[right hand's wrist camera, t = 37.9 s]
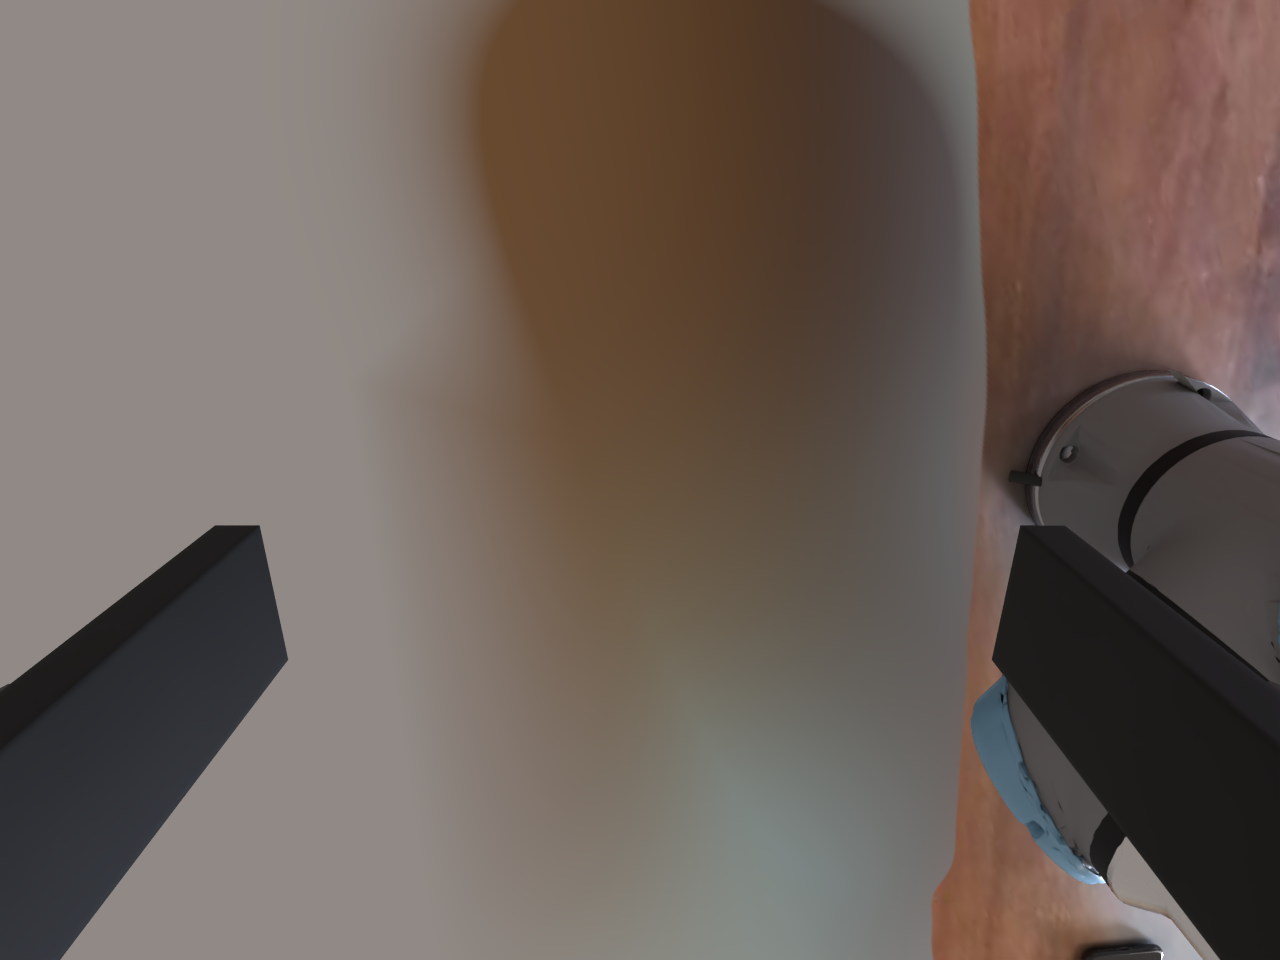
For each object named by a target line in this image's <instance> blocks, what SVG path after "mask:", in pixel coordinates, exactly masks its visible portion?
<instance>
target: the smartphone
mask: <svg viewBox="0 0 1280 960" xmlns="http://www.w3.org/2000/svg"><path fill="white" fill-rule="evenodd" d="M1162 959H1163V951H1162V949H1161V948H1160V947H1159V946H1158V945H1155V944H1146V945H1135V946H1125V947H1114V948H1104V949H1095V950H1090V951H1088V952H1087V953H1086V954H1085V956H1084V960H1162Z"/></svg>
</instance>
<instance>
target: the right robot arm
mask: <svg viewBox="0 0 1280 960" xmlns="http://www.w3.org/2000/svg"><path fill="white" fill-rule="evenodd" d="M1167 369H1168V368H1167ZM1168 370H1169V371H1170V372H1167V371H1140V372H1133V373H1128V374H1124V375H1120V376H1117V377H1114V378H1111V379H1109V380H1106V381H1104V382H1102V383H1099V384H1097V385H1095V386H1093V387H1092V388H1090V389H1088V390H1087V391H1085V392H1083V393H1082V394H1080V395H1079V396H1078V397H1076V398H1075V399H1074V400H1072V401H1071V402H1070V403H1069V404H1067V405H1066V406H1065V407H1064V408H1063V409H1062V410H1061V411H1060V412H1059V413H1058V414H1057V415H1056V416H1055V417H1054V419H1053V420H1052V421H1051V422H1050V423H1049V425H1048V426H1047V427H1046V429H1045V430H1044V432H1043V433H1042V435H1041V437H1040V438H1039V440H1038V442H1037V444H1036V446H1035V448H1034V450H1033V453H1032V456H1031V458H1030V462H1029V465H1028V470H1027V473H1025V472H1019V471H1013V470H1011V472H1010V476H1009V481H1010V482H1016V483H1022V484H1026V497H1027V503H1028V507H1029V510H1030V513H1031V515H1032V518H1033V520H1034V521H1035V523H1036V525H1037V526H1020V530H1019V535H1018V539H1017V544H1016V549H1015V554H1014V558H1013V563H1012V568H1011V572H1010V577H1009V582H1008V586H1007V591H1006V596H1005V601H1004V605H1003V610H1002V615H1001V619H1000V624H999V629H998V633H997V638H996V643H995V647H994V652H993V657H992V660H993V662H994V663H995V664H996V666H997V667H998V668H999V670H1000V671H1001V672H1002V674H1003V675H1002V677H1001V678H1000V679H999V680H998V681H997V682H996V683H995V684H994V685H992V686H991V687H990V688H989V689H988V690H987V691H986V692H985V693H984V694H983V695H982V696H981V697H980V698H979V699H978V700H977V702H976V703H975V705H974V709H973V715H972V717H971V730H972V736H973V740H974V743H975V746H976V749H977V752H978V754H979V757H980V759H981V761H982V763H983V765H984V767H985V769H986V771H987V773H988V775H989V777H990V779H991V780H992V782H993V784H994V786H995V787H996V789H997V791H998V792H999V794H1000V795H1001V797H1002V799H1003V800H1004V802H1005V803H1006V805H1007V806H1008V808H1009V809H1010V811H1011V812H1012V813H1013V815H1014V816H1015V817H1016V819H1017V820H1018V821H1019V822H1020V823H1023V824H1024V825H1025V826H1027V827H1028V830H1029V832H1030V833H1031V835H1032V837H1033V839H1034V841H1035V842H1036V843H1037V844H1038V846H1039V847H1040V848H1041V849H1042V850H1043V851H1044V852H1045V854H1046V855H1047V856H1048V857H1049V858H1050V859H1051V860H1052V861H1053V862H1054V863H1056V864H1057V865H1058V866H1059V867H1060V868H1061V869H1062V870H1064V871H1065V872H1066V873H1067V874H1069V875H1070V876H1072V877H1073V878H1075V879H1077V880H1080V881H1082V882H1085V883H1088V884H1095V883H1107V885H1108V886H1109V887H1110V889H1111V891H1112V892H1113V893H1114V894H1115V895H1116V897H1117V898H1118V899H1119V900H1121V901H1122V902H1123V903H1125V904H1127V905H1130V906H1133V907H1136V908H1140V909H1143V910H1147V911H1150V912H1154V913H1157V914H1161V915H1164V916H1166V917H1168V918H1169V919H1171V920H1172V921H1173V922H1174V923H1175V925H1176V926H1177V927H1178V929H1179V930H1180V931H1181V932H1182V934H1183V935H1184V936H1185V937H1186V939H1187V940H1188V941H1189V942H1190V944H1191V945H1192V946H1193V947H1194V949H1195V950H1196V951H1197V952H1198V954H1199V955H1200V956H1201V957H1202V959H1203V960H1280V441H1279V440H1276V439H1274V438H1271V437H1269V436H1266V435H1265V434H1264V433H1263V432H1262V431H1261V430H1260V429H1259V428H1258V427H1257V426H1256V425H1255V424H1254V423H1253V422H1252V421H1251V420H1250V419H1249V418H1248V417H1247V416H1246V415H1245V414H1244V413H1243V412H1242V411H1241V410H1240V409H1239V408H1238V407H1237V406H1236V405H1235V404H1234V403H1233V402H1232V401H1231V400H1230V399H1229V398H1228V397H1227V396H1226V395H1225V394H1224V393H1222V392H1221V391H1220V390H1218V389H1217V388H1215V387H1213V386H1211V385H1209V384H1207V383H1205V382H1202V381H1199V380H1196V379H1193V378H1190V377H1187V376H1184V375H1183V374H1182V373H1180V372H1177V371H1174V370H1171V369H1168ZM287 660H288V657H287V652H286V647H285V643H284V638H283V633H282V629H281V624H280V619H279V615H278V610H277V605H276V601H275V596H274V591H273V587H272V582H271V577H270V572H269V568H268V563H267V558H266V554H265V549H264V544H263V540H262V535H261V530H260V526H214V527H213V528H211V529H210V530H209V531H207V532H206V533H205V534H204V535H202V536H201V537H200V538H198V539H197V540H196V541H195V542H193V543H192V544H191V545H189V546H188V547H187V548H185V549H184V550H183V551H182V552H180V553H179V554H178V555H176V556H175V557H174V558H173V559H171V560H170V561H169V562H167V563H166V564H165V565H163V566H162V567H161V568H160V569H158V570H157V571H156V572H154V573H153V574H152V575H151V576H149V577H148V578H147V579H145V580H144V581H143V582H142V583H140V584H139V585H138V586H136V587H135V588H134V589H132V590H131V591H130V592H129V593H127V594H126V595H125V596H123V597H122V598H121V599H120V600H118V601H117V602H116V603H114V604H113V605H112V606H111V607H109V608H108V609H107V610H105V611H104V612H103V613H102V614H100V615H99V616H98V617H96V618H95V619H94V620H92V621H91V622H90V623H89V624H87V625H86V626H85V627H83V628H82V629H81V630H80V631H78V632H77V633H76V634H74V635H73V636H72V637H70V638H69V639H68V640H67V641H65V642H64V643H63V644H61V645H60V646H59V647H58V648H56V649H55V650H54V651H52V652H51V653H50V654H49V655H47V656H46V657H45V658H43V659H42V660H41V661H39V662H38V663H37V664H36V665H34V666H33V667H32V668H30V669H29V670H28V671H27V672H25V673H24V674H23V675H21V676H20V677H19V678H17V679H16V680H15V681H14V682H12V683H11V684H7V685H6V686H4V687H2V688H0V960H60V959H61V958H62V957H63V955H64V954H65V953H66V951H67V950H68V949H69V947H70V946H71V945H72V943H73V942H74V941H75V939H76V938H77V937H78V935H79V934H80V933H81V932H82V930H83V929H84V928H85V926H86V925H87V924H88V922H89V921H90V920H91V918H92V917H93V916H94V914H95V913H96V912H97V910H98V909H99V908H100V907H101V905H102V904H103V903H104V901H105V900H106V899H107V897H108V896H109V895H110V893H111V892H112V891H113V889H114V888H115V887H116V885H117V884H118V883H119V882H120V880H121V879H122V878H123V876H124V875H125V874H126V872H127V871H128V870H129V868H130V867H131V866H132V864H133V863H134V862H135V860H136V859H137V858H138V857H139V855H140V854H141V853H142V851H143V850H144V849H145V847H146V846H147V845H148V843H149V842H150V841H151V839H152V838H153V837H154V835H155V834H156V833H157V832H158V830H159V829H160V828H161V826H162V825H163V824H164V822H165V821H166V820H167V818H168V817H169V816H170V814H171V813H172V812H173V810H174V809H175V808H176V807H177V805H178V804H179V803H180V801H181V800H182V799H183V797H184V796H185V795H186V793H187V792H188V791H189V789H190V788H191V787H192V785H193V784H194V783H195V782H196V780H197V779H198V778H199V776H200V775H201V774H202V772H203V771H204V770H205V768H206V767H207V766H208V764H209V763H210V762H211V760H212V759H213V758H214V757H215V755H216V754H217V752H218V751H219V750H220V749H221V747H222V746H223V745H224V743H225V742H226V741H227V739H228V738H229V737H230V735H231V734H232V733H233V732H234V730H235V729H236V728H237V726H238V725H239V724H240V722H241V721H242V720H243V718H244V717H245V716H246V714H247V713H248V712H249V710H250V709H251V708H252V707H253V705H254V704H255V703H256V701H257V700H258V699H259V697H260V696H261V695H262V693H263V692H264V691H265V689H266V688H267V687H268V685H269V684H270V683H271V682H272V680H273V679H274V677H275V676H276V675H277V674H278V672H279V671H280V670H281V668H282V667H283V666H284V664H285V663H286V662H287Z"/></svg>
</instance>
